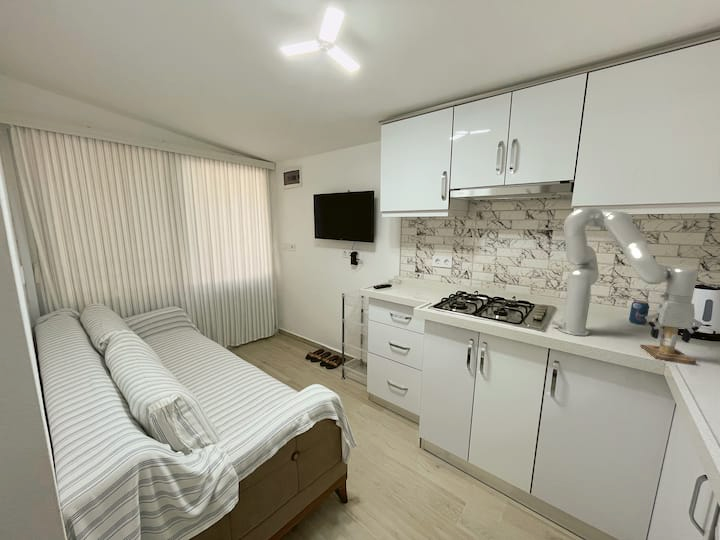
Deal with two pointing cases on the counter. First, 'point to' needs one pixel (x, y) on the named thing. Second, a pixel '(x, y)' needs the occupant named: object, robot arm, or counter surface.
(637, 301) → the soda can
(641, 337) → the counter surface
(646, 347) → the plinth
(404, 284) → the counter surface
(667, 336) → the sprinkles bottle
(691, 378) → the counter surface
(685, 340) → the robot arm
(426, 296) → the counter surface
